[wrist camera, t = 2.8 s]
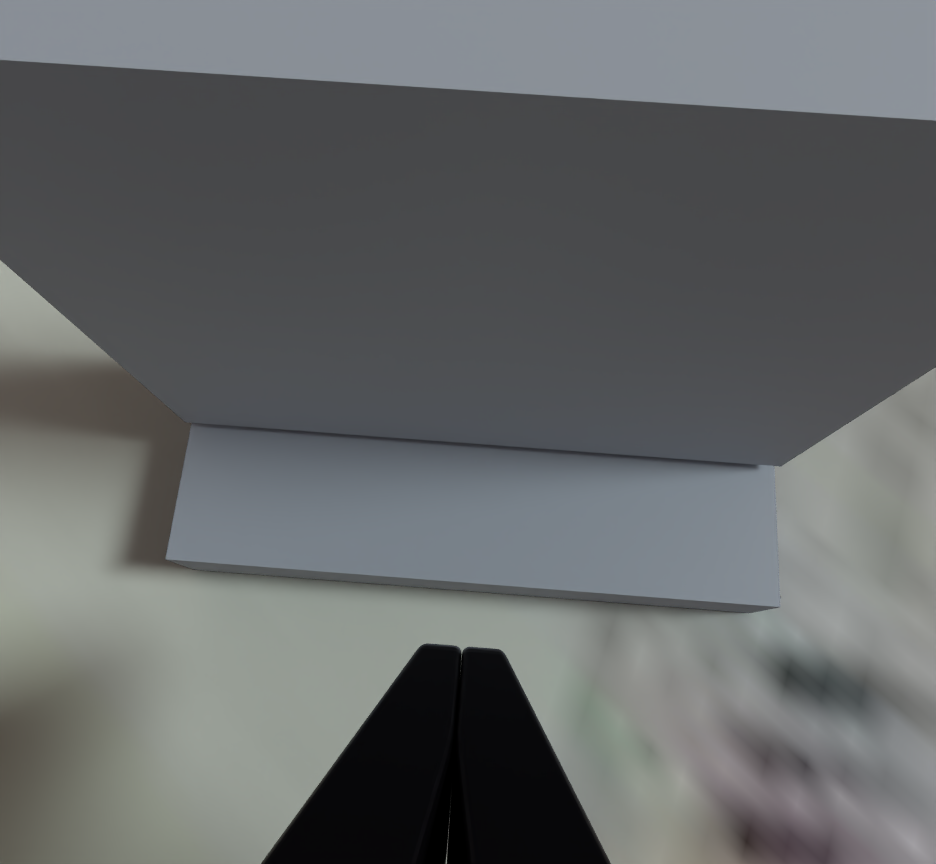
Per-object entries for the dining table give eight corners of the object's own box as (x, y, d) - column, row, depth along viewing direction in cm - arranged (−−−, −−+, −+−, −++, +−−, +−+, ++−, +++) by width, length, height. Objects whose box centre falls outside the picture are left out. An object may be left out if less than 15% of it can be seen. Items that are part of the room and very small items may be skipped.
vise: (750, 612, 15) (952, 573, 9) (194, 569, 15) (5, 501, 9) (727, -109, 21) (840, -446, 14) (321, -134, 21) (259, -476, 15)
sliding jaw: (781, 465, 14) (1283, 143, 5) (185, 422, 14) (-246, 44, 6) (776, 365, 15) (1222, -73, 6) (204, 324, 15) (-160, -154, 6)
